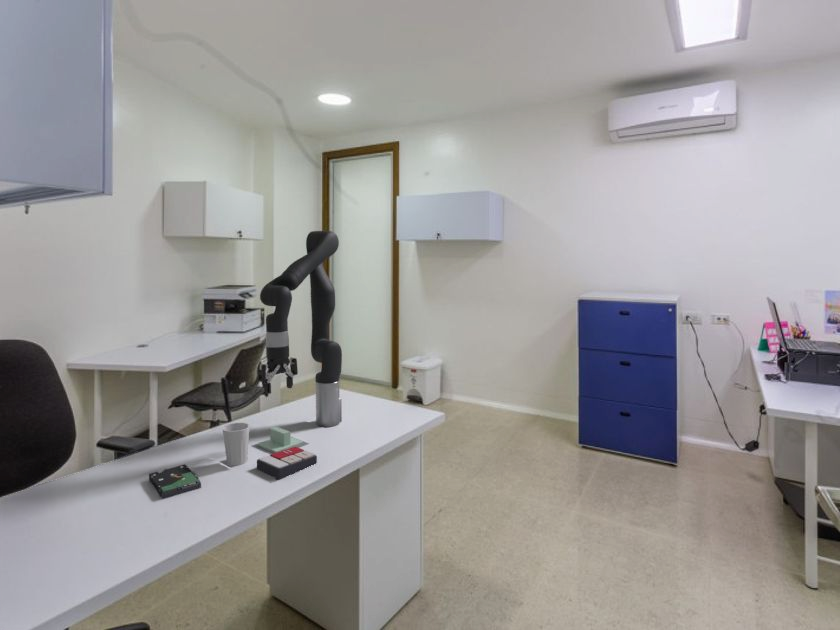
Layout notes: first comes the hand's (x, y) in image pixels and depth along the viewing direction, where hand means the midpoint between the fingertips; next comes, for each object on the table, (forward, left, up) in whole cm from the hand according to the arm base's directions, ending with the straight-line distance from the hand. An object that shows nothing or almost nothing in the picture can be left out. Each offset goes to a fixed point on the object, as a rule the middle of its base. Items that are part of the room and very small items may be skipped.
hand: (279, 390), depth 166 cm
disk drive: (+36, 0, -21) cm, 42 cm away
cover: (0, 0, -19) cm, 19 cm away
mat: (0, 0, -20) cm, 20 cm away
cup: (+17, +1, -20) cm, 26 cm away
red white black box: (+9, +16, -21) cm, 27 cm away
